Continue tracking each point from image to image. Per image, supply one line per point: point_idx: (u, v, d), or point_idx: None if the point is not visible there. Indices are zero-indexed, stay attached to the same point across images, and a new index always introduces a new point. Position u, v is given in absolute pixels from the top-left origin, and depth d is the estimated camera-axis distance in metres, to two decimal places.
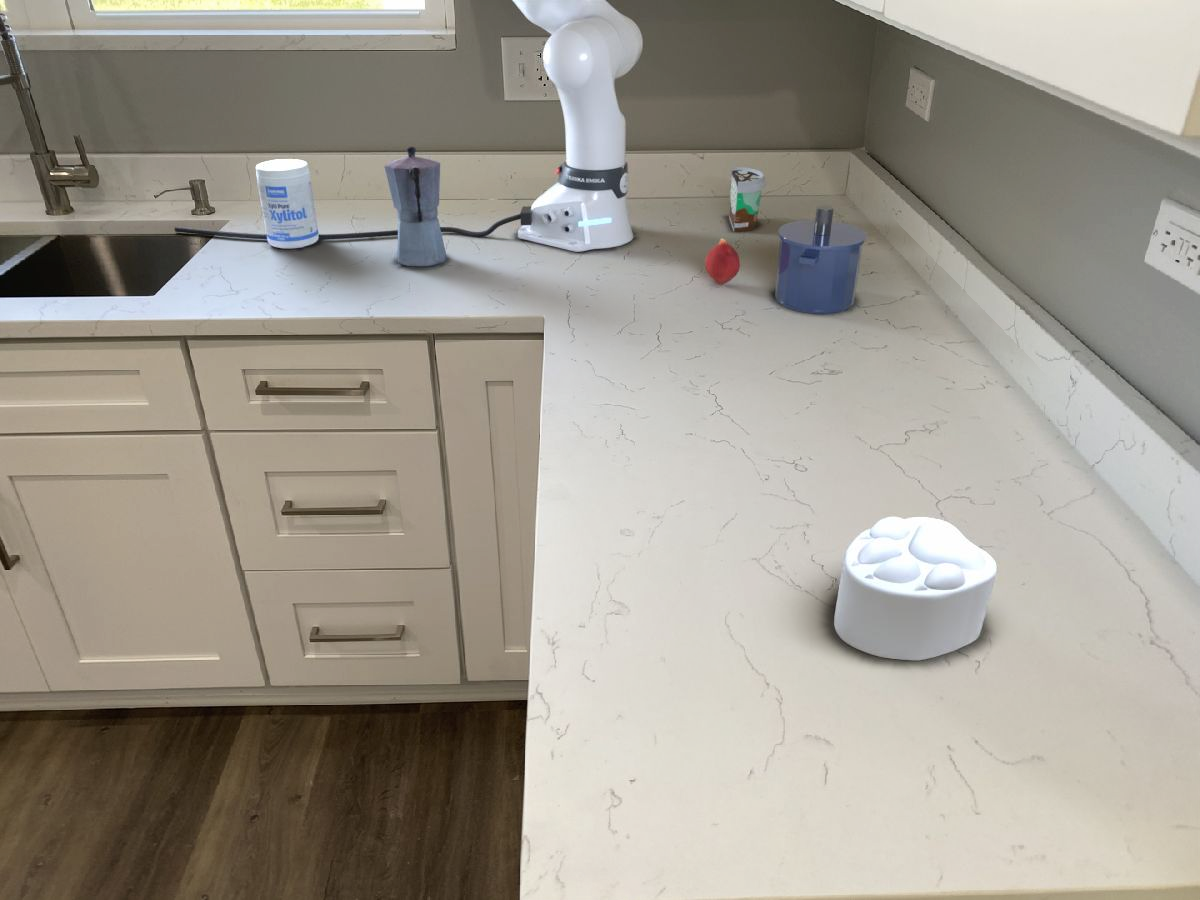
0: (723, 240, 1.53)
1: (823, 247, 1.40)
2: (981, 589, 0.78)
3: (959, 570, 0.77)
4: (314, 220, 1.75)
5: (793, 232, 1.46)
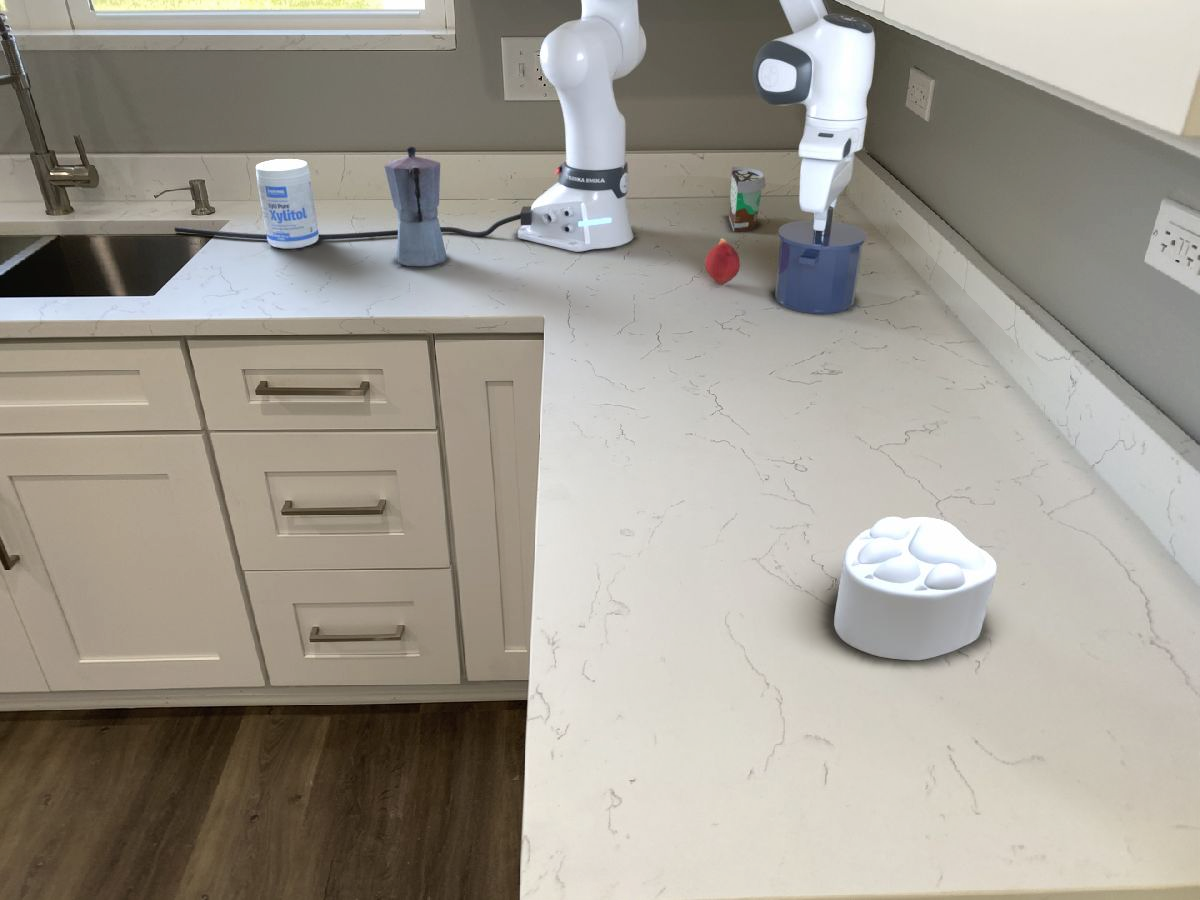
0: (723, 240, 1.53)
1: (823, 247, 1.40)
2: (981, 589, 0.78)
3: (959, 570, 0.77)
4: (314, 220, 1.75)
5: (793, 232, 1.46)
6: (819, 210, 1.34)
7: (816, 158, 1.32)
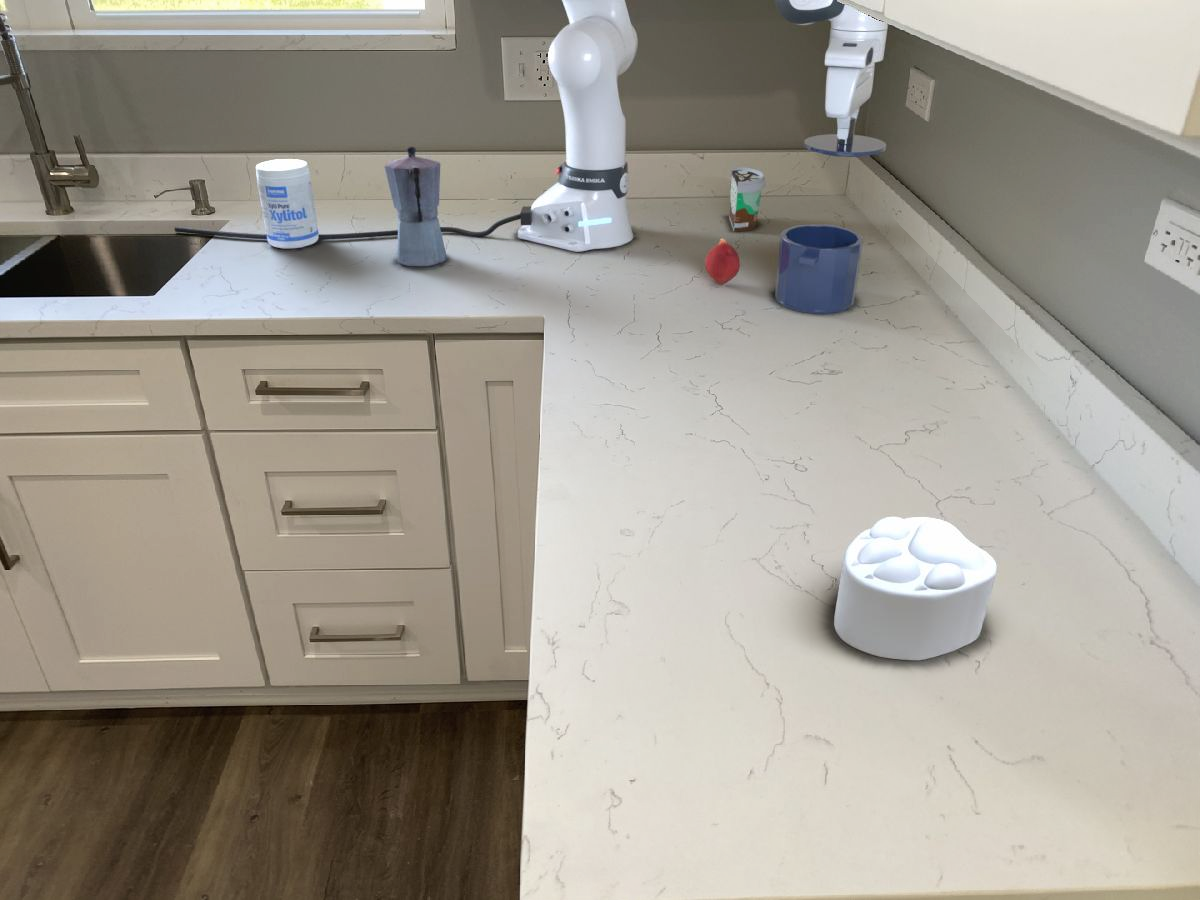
0: (723, 240, 1.53)
1: (847, 153, 1.51)
2: (981, 589, 0.78)
3: (959, 570, 0.77)
4: (314, 220, 1.75)
5: (818, 142, 1.57)
6: (843, 115, 1.46)
7: (841, 66, 1.44)
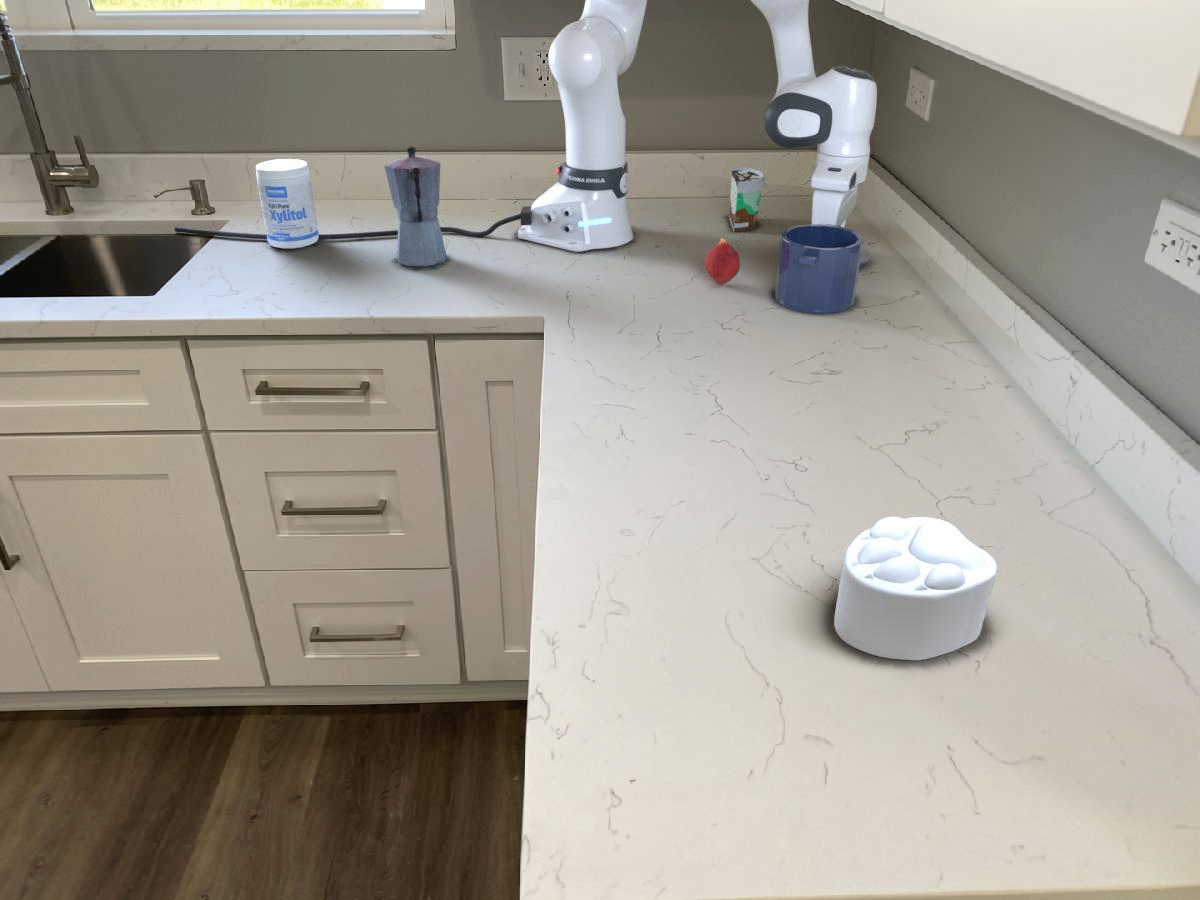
0: (723, 240, 1.53)
1: None
2: (981, 589, 0.78)
3: (959, 570, 0.77)
4: (314, 220, 1.75)
5: None
6: None
7: (826, 189, 1.54)
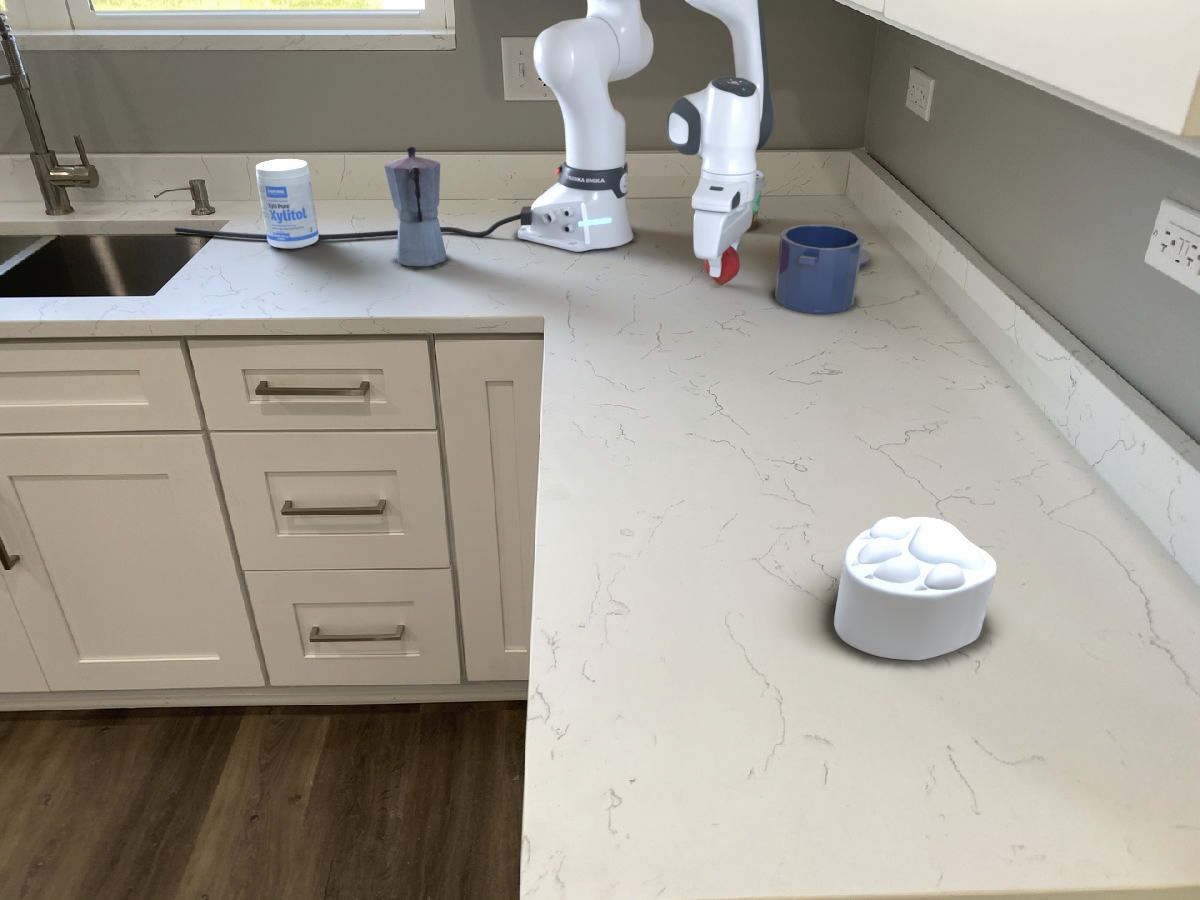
0: None
1: None
2: (981, 589, 0.78)
3: (959, 570, 0.77)
4: (314, 220, 1.75)
5: None
6: (711, 257, 1.45)
7: (707, 210, 1.43)
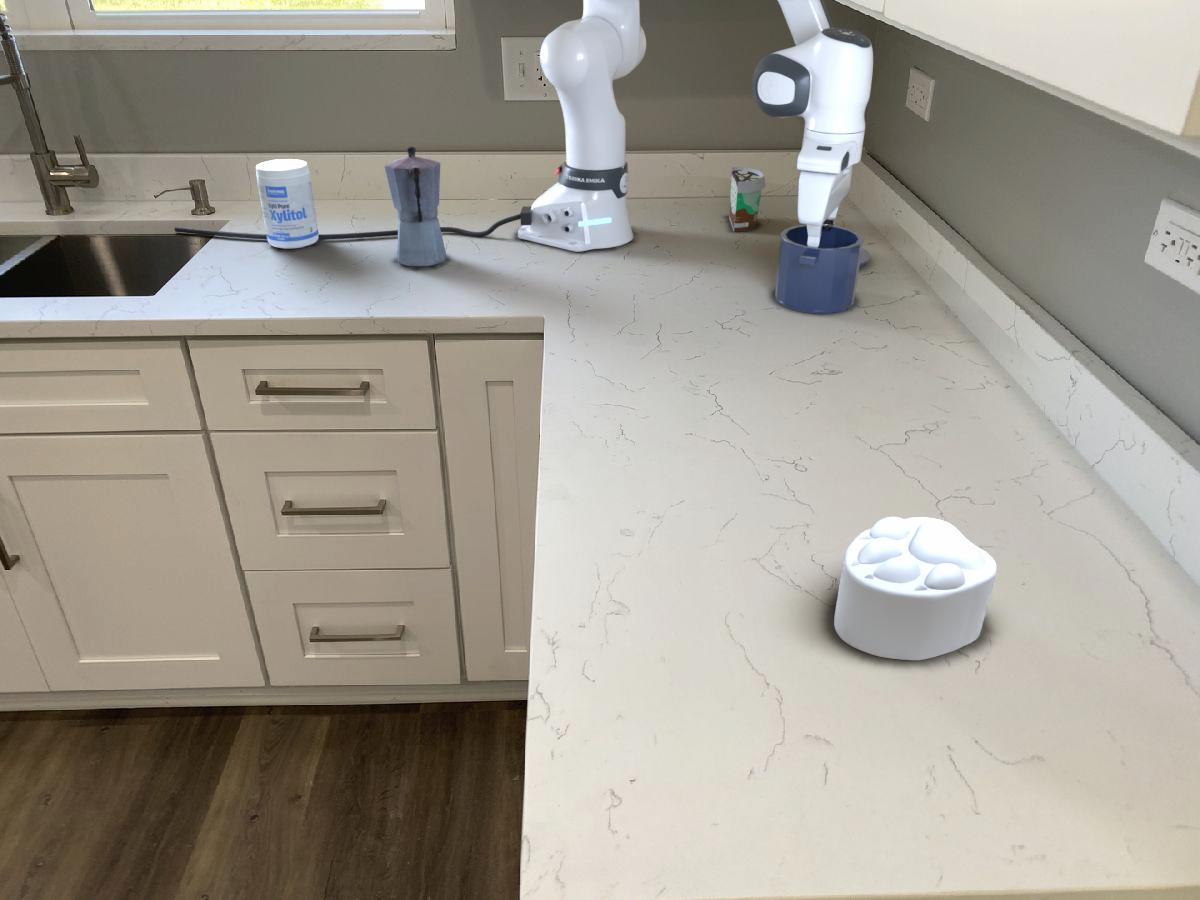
0: None
1: None
2: (981, 589, 0.78)
3: (959, 570, 0.77)
4: (314, 220, 1.75)
5: None
6: (817, 222, 1.35)
7: (814, 171, 1.33)
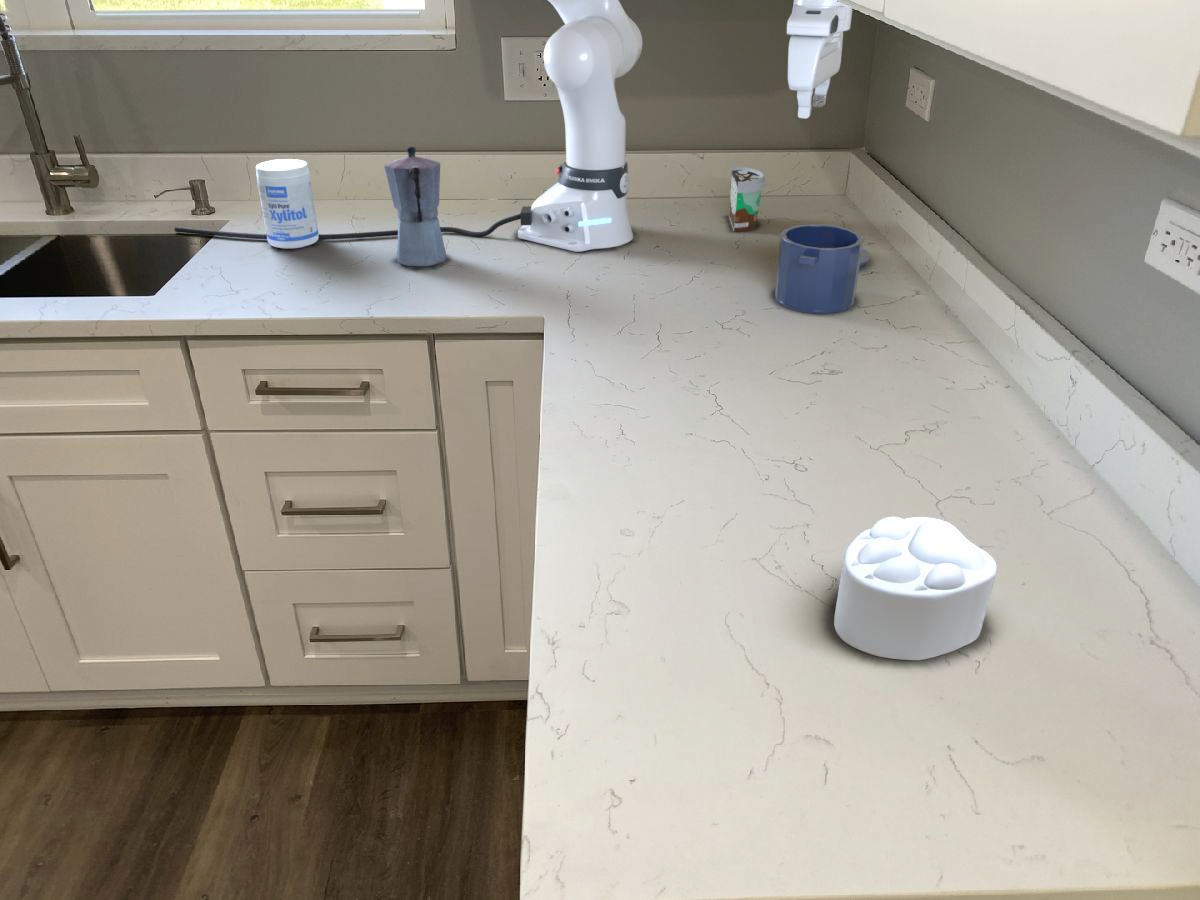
0: None
1: None
2: (981, 589, 0.78)
3: (959, 570, 0.77)
4: (314, 220, 1.75)
5: None
6: (807, 87, 1.37)
7: (804, 34, 1.35)
